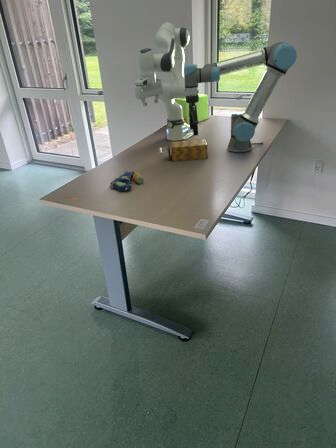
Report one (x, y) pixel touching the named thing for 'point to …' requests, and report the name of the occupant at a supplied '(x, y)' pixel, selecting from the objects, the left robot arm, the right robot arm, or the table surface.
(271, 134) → the table surface
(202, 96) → the lime green box
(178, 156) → the wicker basket box
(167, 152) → the drawer
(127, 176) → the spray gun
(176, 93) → the left robot arm
